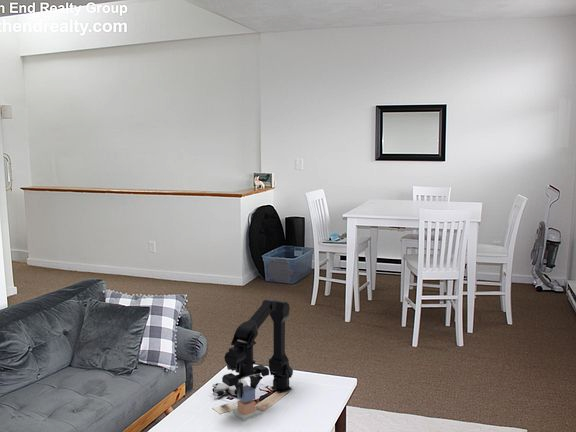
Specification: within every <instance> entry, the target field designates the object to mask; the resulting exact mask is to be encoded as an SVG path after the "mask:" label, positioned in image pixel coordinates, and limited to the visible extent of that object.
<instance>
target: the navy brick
mask: <svg viewBox="0 0 576 432" xmlns="http://www.w3.org/2000/svg"><path fill="white" fill-rule="evenodd" d="M236 396H237V399H238V400H242V401H243V402H248V401H250V400H253V401H254V400H255V399H256V389H254V388H252V387H251V386H250V385H248V384H247V385H246V386H243V393H242V398H240V397H239V395H238V392H237V395H236Z"/></svg>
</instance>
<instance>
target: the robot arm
mask: <svg viewBox="0 0 576 432" xmlns="http://www.w3.org/2000/svg"><path fill="white" fill-rule="evenodd" d="M289 315H290V304H289V303H288V302H287V301H283V300H277V299H273V300H271V299H263V301H262V303H261V305H260V306H259V307H258V309H257V310H256V311H255V312H254V314H253V315H252V316H250V318H249V319H248V320H247V321H244V322H242V323H241V324H239V326H238V327H237V328H236V330H235V332H234V334H233V337H232V340H231V343H230V345H231V347H229V348H228V351H227V352H226V353H224V354H225V355H224V357H223V358H224V362H225V364H226V368H227V370H229V371H230V370H231V372H229V373H227V374H223V375H222V377H221V380H222V382H221V383H225V384H226V385H228V386H234V385H235V387H236V389H237V392H238V395H239V397H240V398H242V393H243V383H242V382H241V379H243V378H244V379H246V378H249V379H250V380H249V381H250V385H249V386H251V387H252V388H254V389H255V390H257V389H256V388H257V387H258V385H259V383H260V381H261V380H263V377H266V376H267V377H268V376H269V375H270V376H273V380H272V386H271V389H272V390H275V391H276V392H278V393H279V394H280V393H284V392H287V391H291V390H292V386H291V387H290V379H291V378H292V377H293V374H294V370H293V368H292V367H291V366H290V362H289V357H287V355H286V321H287V319H288V317H289ZM269 316H270V318H271V320H272V323H273V329H272V330H273V332H272V333H273V339H272V340H273V345H272V346H273V347H272V348H273V351H272V352H273V354H272V356H271V358H269V359H268V366H265V365H263V364H257V365H255V364H256V360H254V346H255V345H256V344H257V341H255V340H256V338H257V337H258V335H259V329H260V327H261V326H262V325H263V323H264V322H265V321H266V319H267V318H268V317H269ZM254 365H255V366H254ZM234 371H235V373H238V374H234V373H233V372H234ZM244 379H243V380H244Z"/></svg>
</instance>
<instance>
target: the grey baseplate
mask: <svg viewBox="0 0 576 432" xmlns="http://www.w3.org/2000/svg"><path fill="white" fill-rule="evenodd" d="M231 412H232V414H233V415H235V416H237V418H239V419H240V420H241V421H247V420H249V419H252V418H254V417H257V416H260V415H261V411H260V410H258V409H257V408H255V412H252V413H249V414H246V415H244V414H242V413H241V412H239V411H238V408H237V409H234V410H231Z"/></svg>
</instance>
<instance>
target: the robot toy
mask: <svg viewBox="0 0 576 432" xmlns="http://www.w3.org/2000/svg"><path fill="white" fill-rule="evenodd" d="M241 382H242V383H243V386H246V385H248V382H247V381H246V380H245V378H243V379H241ZM212 387H213V388H212V392H213V396H214V397H221V396H225V395H228V394H231V395H232V396H237V389H236V387H235V385H234V386H228V385H226V384H225V383H223V382H221V383H219V382H218V383H217V382H216V383H213V384H212Z"/></svg>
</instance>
